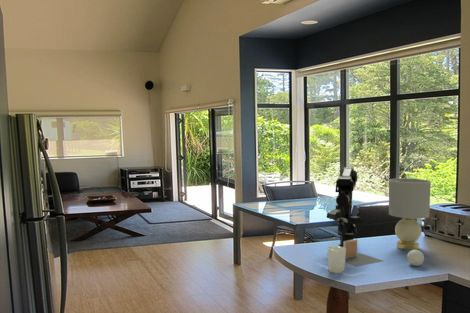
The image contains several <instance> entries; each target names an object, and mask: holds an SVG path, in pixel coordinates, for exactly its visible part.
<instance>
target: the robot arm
mask: <svg viewBox="0 0 470 313" xmlns="http://www.w3.org/2000/svg"><path fill="white" fill-rule="evenodd" d="M342 168H343V169H342V170H341V171H340V175H339V176H338V177H337V179H336V181H335V182H336V183H335V190H334V191H335V193H338V194H337V196H336V199H335V203H336V205H335V209H332V210H330V211H327V213H326V218H327V219H329V220H333V221H334V222H335V223H337V225H338V226H337V227H338V228H337V232H338V233H337V234H338V236H340V241H339V242H340V243H339V244H338V246H339V247H343V242H344V241H347V240H354V239H355V238H354V237H357V227H356V225H358V224H362V222H363V219H362V217H361V216H356V215H354V216H352V215H353V214H352V208H353V191H354V188H355V187H356V185H357V182H358V172H357V171H356V170H354V168H353V167H352V166H351V167H347V166H346V167H342Z"/></svg>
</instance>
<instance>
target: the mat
mask: <svg viewBox="0 0 470 313" xmlns="http://www.w3.org/2000/svg"><path fill="white" fill-rule="evenodd" d="M382 262H384V260H382V259H380V258H376V257H373V256H370V255H367V254H363V253H361V252H357V256H354V257H348V258H345V264H347V265H350V266H353V267H361V266H366V265H371V264H377V263H382Z"/></svg>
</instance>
